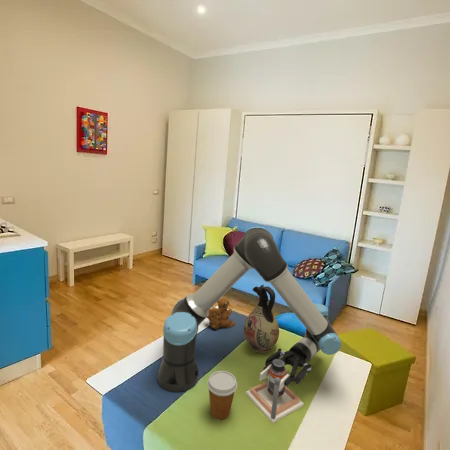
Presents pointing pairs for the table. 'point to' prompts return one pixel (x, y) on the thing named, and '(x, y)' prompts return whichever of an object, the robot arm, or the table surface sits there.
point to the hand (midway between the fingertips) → (269, 382)
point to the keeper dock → (269, 400)
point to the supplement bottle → (276, 375)
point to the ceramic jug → (262, 322)
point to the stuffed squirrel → (220, 315)
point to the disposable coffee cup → (221, 393)
